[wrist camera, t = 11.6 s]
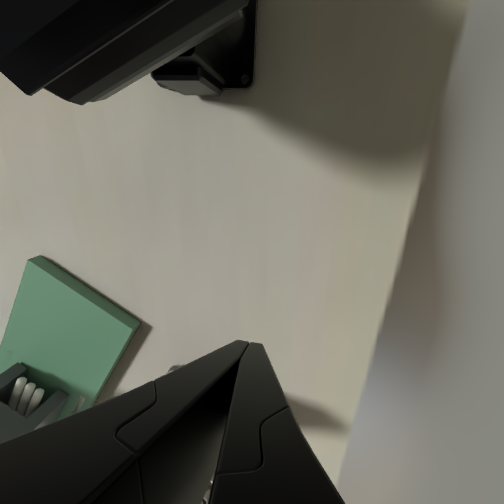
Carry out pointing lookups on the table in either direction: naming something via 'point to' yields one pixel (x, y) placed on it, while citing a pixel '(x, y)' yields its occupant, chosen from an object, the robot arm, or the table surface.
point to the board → (64, 336)
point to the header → (25, 397)
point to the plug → (13, 423)
